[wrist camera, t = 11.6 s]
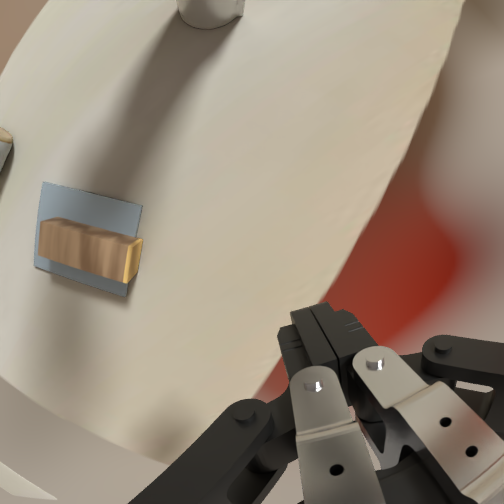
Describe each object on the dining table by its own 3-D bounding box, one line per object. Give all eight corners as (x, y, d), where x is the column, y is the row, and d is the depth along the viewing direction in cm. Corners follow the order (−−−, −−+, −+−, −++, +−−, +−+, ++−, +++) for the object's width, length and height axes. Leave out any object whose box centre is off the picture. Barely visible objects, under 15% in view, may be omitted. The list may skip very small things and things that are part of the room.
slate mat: (142, 205, 39) (141, 206, 38) (126, 295, 42) (125, 297, 41) (44, 181, 36) (42, 181, 36) (35, 264, 39) (33, 265, 39)
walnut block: (132, 247, 35) (40, 221, 32) (127, 283, 36) (37, 255, 33) (143, 239, 39) (57, 216, 37) (137, 272, 40) (54, 247, 38)
